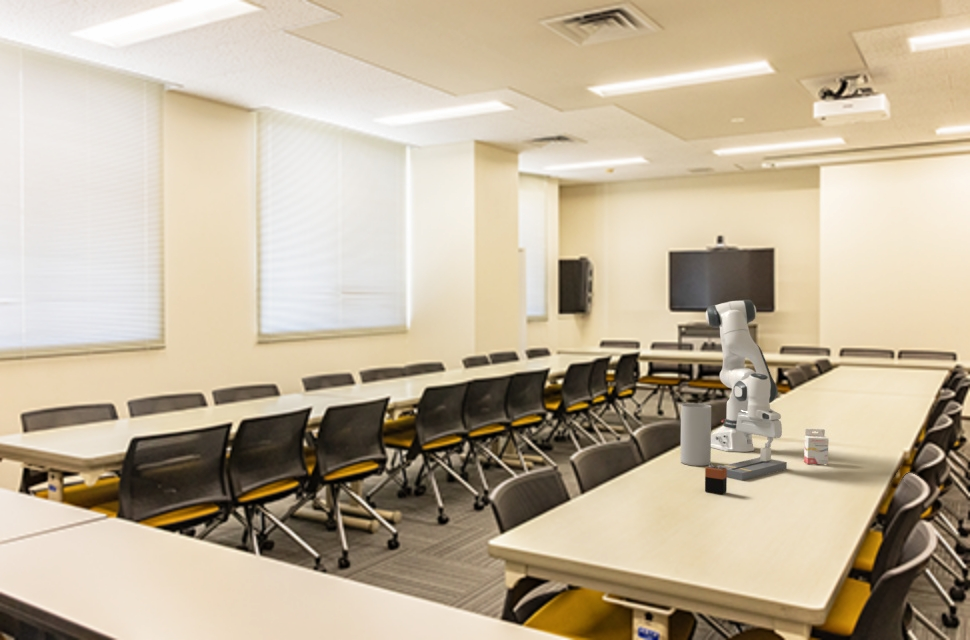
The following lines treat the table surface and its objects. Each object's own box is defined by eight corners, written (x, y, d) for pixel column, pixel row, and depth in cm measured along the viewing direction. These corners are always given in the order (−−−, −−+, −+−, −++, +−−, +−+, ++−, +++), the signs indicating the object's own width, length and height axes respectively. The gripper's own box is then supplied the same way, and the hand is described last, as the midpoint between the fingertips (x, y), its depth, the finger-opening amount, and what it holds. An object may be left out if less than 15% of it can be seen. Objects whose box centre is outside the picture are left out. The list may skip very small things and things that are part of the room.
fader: (760, 465, 309) (760, 448, 309) (765, 463, 312) (765, 447, 311) (765, 466, 307) (765, 449, 307) (770, 464, 310) (771, 448, 309)
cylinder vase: (714, 466, 313) (715, 407, 312) (684, 466, 313) (685, 407, 312) (705, 460, 326) (706, 403, 325) (677, 459, 325) (677, 403, 325)
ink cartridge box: (807, 464, 317) (808, 430, 316) (803, 462, 322) (804, 428, 321) (828, 465, 316) (829, 431, 316) (824, 462, 321) (824, 429, 321)
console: (715, 474, 298) (715, 467, 298) (760, 464, 318) (760, 457, 318) (742, 480, 289) (742, 472, 289) (786, 469, 308) (786, 462, 308)
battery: (723, 495, 268) (723, 467, 268) (704, 492, 272) (704, 465, 272) (726, 492, 271) (727, 465, 271) (708, 489, 275) (708, 463, 275)
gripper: (733, 410, 316) (732, 442, 316) (774, 416, 299) (774, 450, 299) (742, 409, 319) (742, 441, 320) (784, 415, 302) (783, 449, 302)
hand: (758, 445), depth 309 cm, fingers open, 8 cm apart
